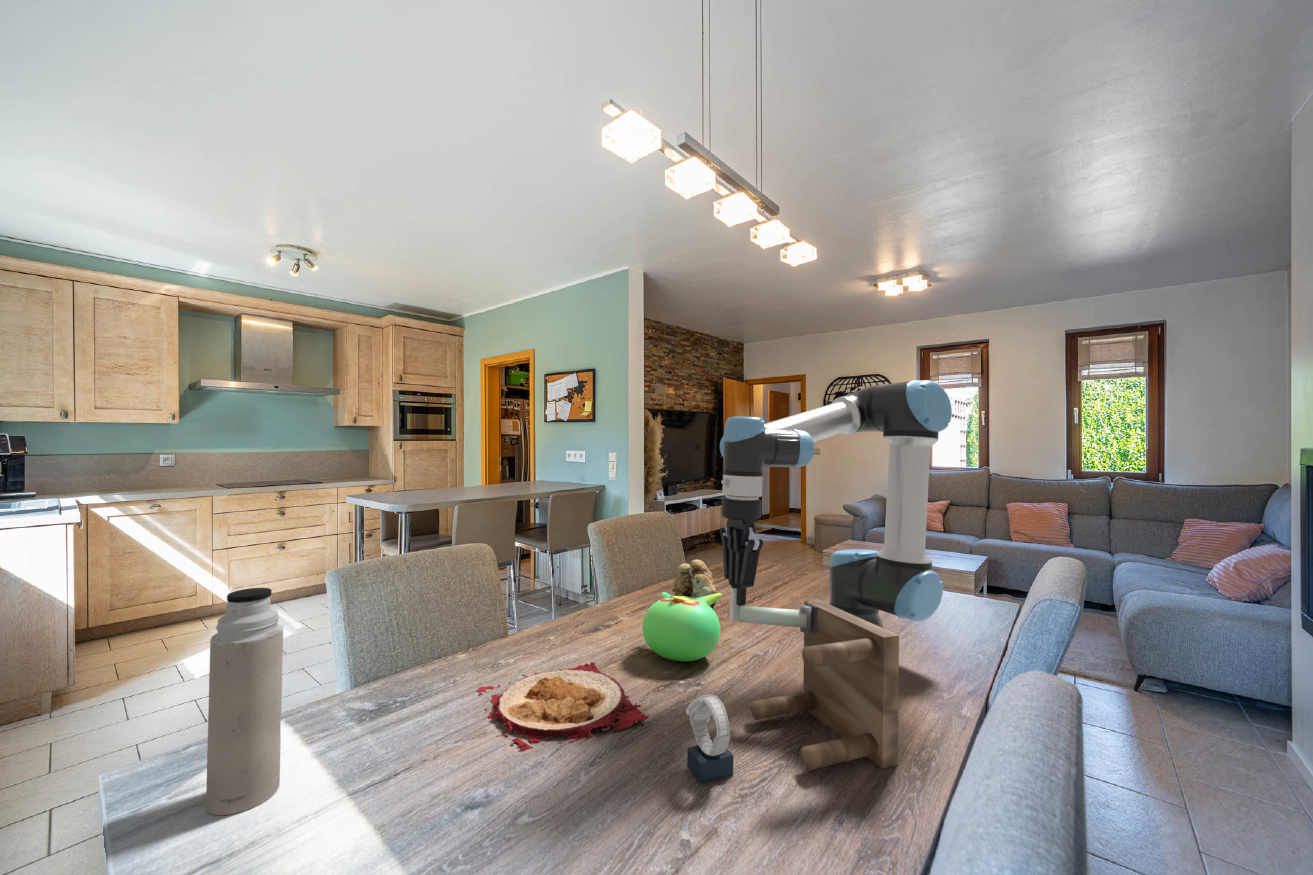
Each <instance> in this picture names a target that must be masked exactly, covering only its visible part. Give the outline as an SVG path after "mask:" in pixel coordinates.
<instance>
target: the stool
mask: <svg viewBox="0 0 1313 875" xmlns="http://www.w3.org/2000/svg"><path fill="white" fill-rule="evenodd" d="M804 605H807V606H810V607H812V617H811V633H803V649H802V651H801V656H802V660H803V686H802V687H803V689H802V692H796V693H792V694H785V695H780V696H779V695H778V696H774V697H767V698H763V699H757V700H756V699H755V700H752V701H751V702H750V705H749V706H750V707H749V708H750V713H751V715H752V718H753V719H754V721H755V720H756V721H757V720H763V719H764V720H765V719H770V718H774V717H779V716H785V715H789V714H794V713H795V714H796V713H800V712H805V711H806V712H809V714H811V715H812V716H813V717H815V718H816V719H818V720H819V721H820V722H822V723H823V724H824V725H826V726H827V727H828V728H829V729H831V730H832V731H833V732H834V733H836V734H837V735H838V736H840V737H841V738H837V739H833V740H828V741H824V742H819V743H816V744H811V745H805V746H803V747H801V749H800V756H801V757H800V758H801V760H802V763H803V765H804V766H805V768H806V769H807V770H809V771H811V770H815V769H818V768H819V769H820V768H824V767H828V766H833V765H836V764H841V763H844V762H848V761H853V760H856V759H862V758H865V757H867V758H868V759H869V760H871V761H872V762H873V763H875V764H876V765H877V766H879V767H880V768H881V769H887V768H892V767H895V766H898V765H899V752H898V751H899V693H900V692H899V686H900V684H899V682H900V681H899V679H900V676H899V674H900V672H899V670H900V667H899V666H900V635H899V634H897V633H894V632H892V631H890V630H887V629H885V628H884V627H883V628H881V627H879V626H877V625H874V624H872V623H870V622H868V621H865V620H863V619H861V618H859V617H856V616H854V615H852V614H850V613H847V612H845V611H843V610H841V609H838V608H836V607H834V606H831V605H830V603H828V602H827V603H826V601H825V602H824V601H822V600H820V599H810V600H804Z"/></svg>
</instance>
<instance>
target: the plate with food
mask: <svg viewBox="0 0 1313 875" xmlns="http://www.w3.org/2000/svg"><path fill="white" fill-rule="evenodd" d="M501 682H503V681H501ZM511 684H512V682H509V685H511ZM501 686H502V685H501V684H498V685H497V686H493V685H488V686H481V687H478V688H477V692H478V694H479V696H484V694H483V693H486V692H487V693H490V691H494V689H498V688H500V687H501ZM489 690H490V691H489ZM625 693H626V692H625V690H624V688H623V687H622V685H621V684H620V683H619V682H618V681H617V680H616V679H615V678H613V677H611V676H609V675H607V674H605V673H602V672H601V671H600V670H599V669H598V667H597V666H596V663H595V662H594V661H593V662H592V661H591V662H590V664H588V663H587V662H586V664H584V665H582V664H580V665H578V666H576V667H571V668H567V669H566V668H562V669H561V668H560V669H555V670H550V671H544V672H534V674H531V675H528V676H525V677H524V678H522V679H519V681H517V682H515V683H513V684H512V686H509V688H508V689H506V690H505V691H504V692H503V693H496V694H492V695H491V700H490V701H489V703H492V707H494V710H493V711H490V712H489V715H488V719H489V720H492V719H495V720H496V721H497V722H499V720H501V721H502V722H503V723H502V726H504V727H505V726H507V727H505V728H504V730H505V731H507V730H508V732H511V731H512V732H514V733H516V734H518V735H523V736H524V737H525V738H526V739H527V742H525V741H524V740H522V739H520V738H518V737H516V738H513V739H512V738H509V737H510V735H509V734H506V733H505V732H503V733H502V734H503V735H504V738H507V739H508V738H509V739H508V740H512V743H510V744H509V747H513V746H514V744H515V743H517V744H518V746H517V747H516V749H517V750H518V749H519V750H518V753H522V752H525V751H529V750H532V749H533V748H534V747H533V746H530V745H529V744H534V745H538V744H540V743H541V741H548V740H550V741H552V737H554V738H555V739H557V738H558V737H560V738H562V737H566V739H568V740H569V741H568V743H569V744H570V743H575V742H578V741H582V740H583V739H585V738H586V740H588V739H590V738H592V737H593V736H594V733H592V732H591V730H592V729H596V731H599V729H598V727H601V731H603V732H607V731H609V730H610V728H611V727H612V730H613V731H614V732H617V731H622V730H624V729H626V728H630V727H631V726H632V725H634V724H635V725H636V723H637V722H639V723H640V722H642V723H645V722H646V721H647V720H648V718H649V716H648V715H646V714H644V713H642V712H641V710H640V709H639V708H641V707H642V706H641V705H640V704H633V703H632V701H630V699H628V698H630V697H629V695H625ZM487 711H488V708H485V712H487ZM495 734H496V733H495ZM514 736H516V735H514ZM498 737H499V738H500V735H499V734H497V735H496V738H498ZM577 737H578V738H577ZM540 740H541V741H540ZM586 740H583V741H584V742H585V741H586ZM528 743H529V744H528ZM557 744H559V745H560V744H561V745H563V743H562V742H558V743H557Z"/></svg>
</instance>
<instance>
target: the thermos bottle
mask: <svg viewBox="0 0 1313 875" xmlns="http://www.w3.org/2000/svg"><path fill="white" fill-rule="evenodd" d="M271 595H272V588H269V587H252V588H251V587H250V588H246V589H245V588H243V589H239V590H236V591H232V592H229V593H228V594H227V595H226V601H227V604H226V606H225V614H224V615H223V616H221V617H220V618H219V619H217V625H216V627H215V628H216V632H217V633H215V634H214V635H212V636H211V637H210V640H209V643H210V644H209V645H210V646H209V679H208V711H207V712H208V713H207V714H208V716H207V753H206V754H207V755H206V756H207V757H206V790H205V791H206V794H205V795H206V798H205V800H206V801H205V808H206V811H207V812H208V813H210V814H212V815H215V816H227V815H234V814H239V813H243V812H245V811H248V810H251V809H254V808H255V807H258V806H259V805H261V804H263V803H265V802H266V801H268V800H269V799H271V798H272V797H273V796H274V795H275V794H276V793H277V791H278V790H279V788H280V783H281V781H280V778H281V744H282V743H281V739H282V738H281V725H282V724H281V722H282V696H283V694H282V693H283V663H284V662H283V660H284V659H283V658H284V657H283V656H284V653H283V652H284V627H283V625H282V624H280V623H278V622H279V619H280V615H279V614H278V611H277V610H276V609H273V608H271V599H270V597H271Z"/></svg>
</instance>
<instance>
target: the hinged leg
mask: <svg viewBox="0 0 1313 875" xmlns="http://www.w3.org/2000/svg"><path fill="white" fill-rule="evenodd" d="M811 617H812V607H810V606H807V605H800V606H799V609H794V608H793V609H792V608H791V609H789V608H777V607H763V606H762V607H761V606H754V605H753V606H749V605H746V606H740V610H739V623H744V624H754V625H755V624H757V625H758V624H759V625H768V626H780V627H781V626H782V627H790V628H791V627H793V628H799V632H800V633H803V634H804V633H811Z"/></svg>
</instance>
